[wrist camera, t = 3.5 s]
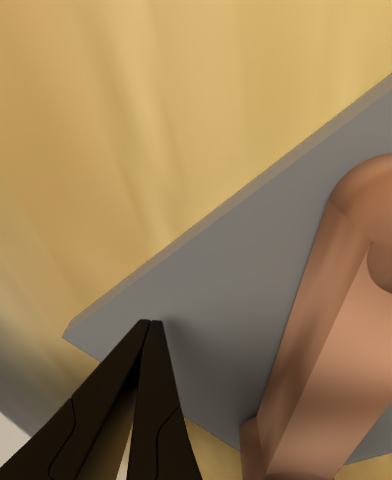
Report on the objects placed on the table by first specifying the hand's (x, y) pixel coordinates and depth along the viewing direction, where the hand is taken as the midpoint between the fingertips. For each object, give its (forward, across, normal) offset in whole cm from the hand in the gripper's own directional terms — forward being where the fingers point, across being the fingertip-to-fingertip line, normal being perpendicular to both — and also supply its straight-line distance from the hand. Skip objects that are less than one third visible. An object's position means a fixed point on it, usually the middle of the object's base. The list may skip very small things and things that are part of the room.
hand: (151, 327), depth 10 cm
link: (+1, -7, +2) cm, 7 cm away
